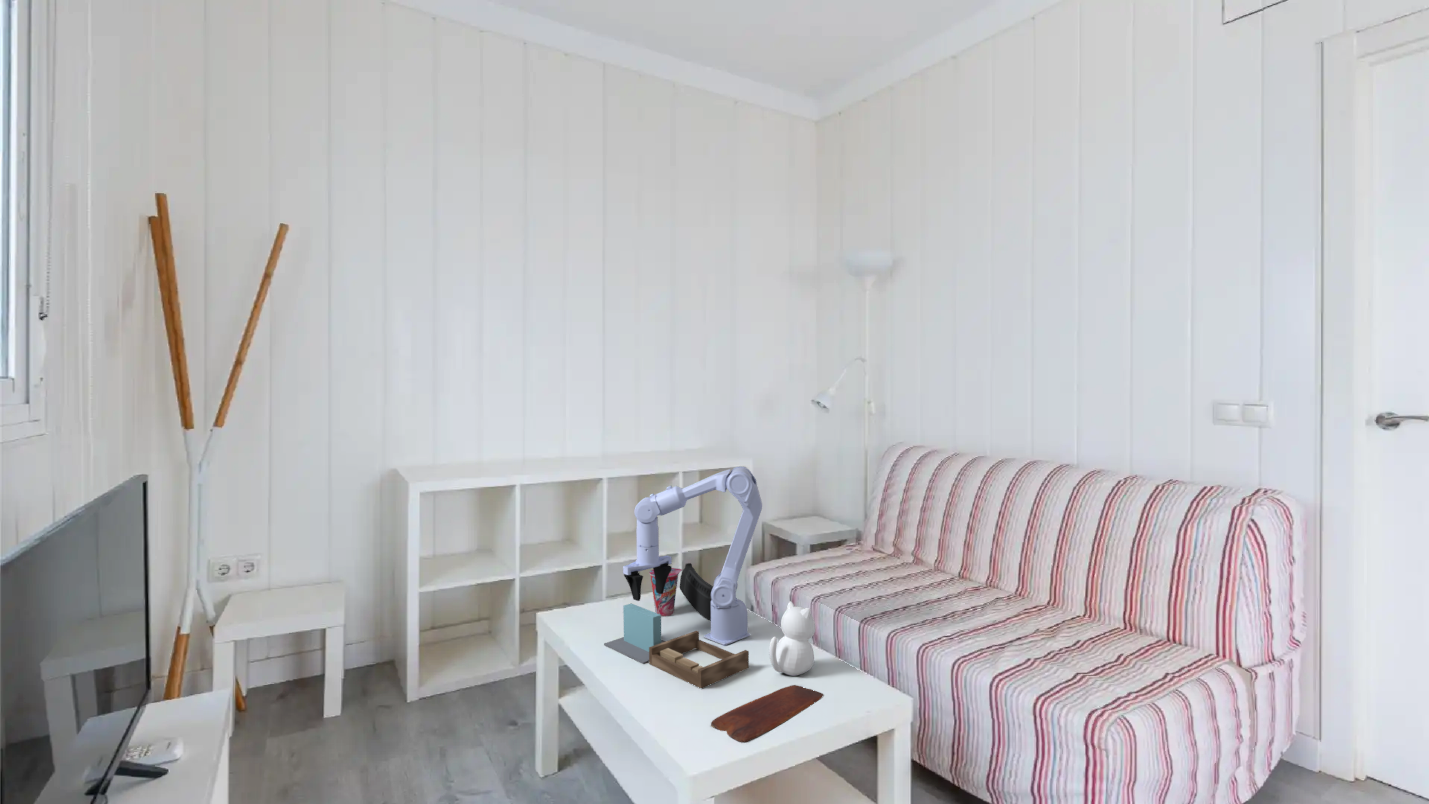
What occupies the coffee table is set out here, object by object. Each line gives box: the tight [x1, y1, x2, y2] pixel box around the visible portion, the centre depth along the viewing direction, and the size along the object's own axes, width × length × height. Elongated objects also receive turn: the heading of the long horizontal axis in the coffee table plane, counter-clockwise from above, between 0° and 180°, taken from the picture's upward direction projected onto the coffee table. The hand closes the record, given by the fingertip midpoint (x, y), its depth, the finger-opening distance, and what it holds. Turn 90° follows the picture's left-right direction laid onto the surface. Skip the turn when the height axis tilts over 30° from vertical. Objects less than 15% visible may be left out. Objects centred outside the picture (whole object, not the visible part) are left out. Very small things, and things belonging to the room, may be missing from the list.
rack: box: [648, 630, 750, 689], centre depth 163 cm, size 15×18×4 cm
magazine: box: [679, 562, 714, 623], centre depth 200 cm, size 17×3×30 cm
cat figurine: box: [768, 600, 816, 677], centre depth 160 cm, size 9×12×15 cm
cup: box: [649, 567, 683, 617], centre depth 199 cm, size 9×8×12 cm
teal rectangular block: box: [622, 603, 662, 652], centre depth 175 cm, size 2×12×9 cm, turn 44°
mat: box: [603, 636, 667, 665], centre depth 175 cm, size 12×16×1 cm
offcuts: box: [660, 648, 703, 673], centre depth 161 cm, size 2×15×3 cm, turn 44°
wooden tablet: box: [710, 684, 824, 743], centre depth 142 cm, size 27×10×2 cm, turn 134°
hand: (648, 596), depth 182 cm, fingers open, 7 cm apart
